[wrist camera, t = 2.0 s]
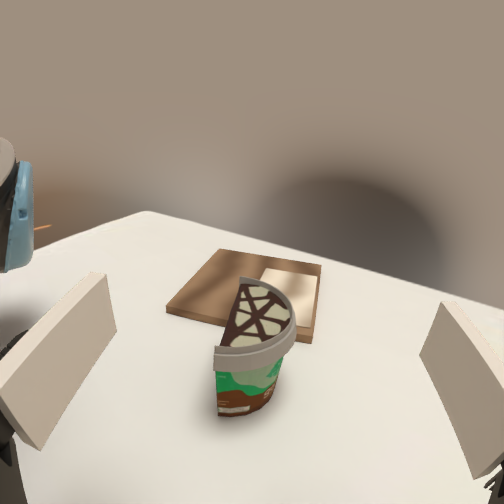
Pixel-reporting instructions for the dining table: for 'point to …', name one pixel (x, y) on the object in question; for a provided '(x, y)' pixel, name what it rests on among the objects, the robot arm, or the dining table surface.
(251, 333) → the food container
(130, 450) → the dining table surface
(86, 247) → the dining table surface
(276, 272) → the board
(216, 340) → the dining table surface
